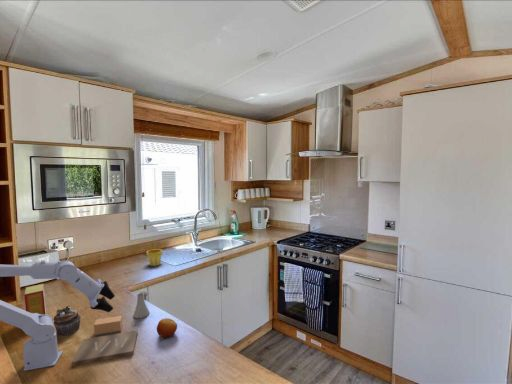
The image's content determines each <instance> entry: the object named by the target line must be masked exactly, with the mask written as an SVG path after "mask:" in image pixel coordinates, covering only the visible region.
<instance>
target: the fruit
mask: <svg viewBox="0 0 512 384" xmlns="http://www.w3.org/2000/svg"><path fill="white" fill-rule="evenodd" d="M177 329H178V323H176V321H175V320H174V319H172V318H167V317H166V318H162V319H160V320H159V321H158V323H157V325H156V331H157V334H158V336H159V337H160V338H161V342H163V340H164V339H168V338H169V339H170V338H171V337H173V336H174V335H175V333H176V331H177Z"/></svg>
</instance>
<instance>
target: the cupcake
mask: <svg viewBox="0 0 512 384" xmlns="http://www.w3.org/2000/svg"><path fill="white" fill-rule="evenodd" d="M81 318H82V317H81V314H80V313H79V311H78V310H76V309H73V308H72V307H71V305H67V306H65V308H62V309H57V310H56V315H55V316H54V317H53V326H54V329H55V332H56V334H57V335H58V336H62V337H63V336H68V335H69V336H70V335H72V334H75V333H76V332H77V331H79V329H80V325H81Z"/></svg>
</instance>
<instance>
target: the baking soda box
mask: <svg viewBox="0 0 512 384" xmlns="http://www.w3.org/2000/svg"><path fill="white" fill-rule="evenodd" d="M23 296H24V305H25V311H27V312H29V313H38V314H41V315H48V313H47V304H46V293H45V284H44V283H39V284H37V285H32V286H26V287H25V290H24V295H23Z"/></svg>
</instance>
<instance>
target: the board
mask: <svg viewBox="0 0 512 384" xmlns="http://www.w3.org/2000/svg"><path fill="white" fill-rule="evenodd" d="M138 334H139V333H138V329H137V330H130V331H126V332H117V333H111V334H105V335H99V336H94V337H89V338H83V339H82V342H81V343H80V345H79V348H78V350H77V351H76V353H75V355H74V357H73V360H72V361H71V366H72V367H75V366H80V365H85V364H90V363H94V362H95V363H97V362H102V361H107V360H108V361H109V360H113V359H118V358H123V357H128V356H133V355H134V353H135V350H136V349H135V348H136V345H137V338H138Z"/></svg>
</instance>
